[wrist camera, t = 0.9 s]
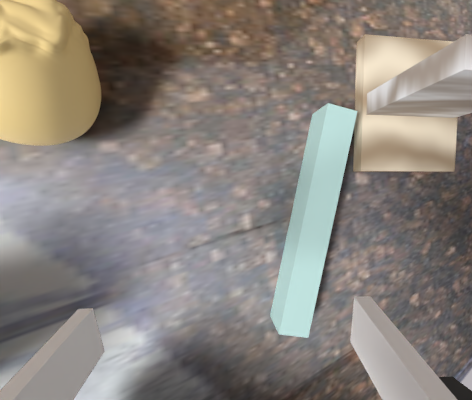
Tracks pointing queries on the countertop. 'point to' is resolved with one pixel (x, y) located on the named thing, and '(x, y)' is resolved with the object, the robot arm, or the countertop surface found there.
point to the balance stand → (410, 102)
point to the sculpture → (45, 74)
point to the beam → (312, 219)
